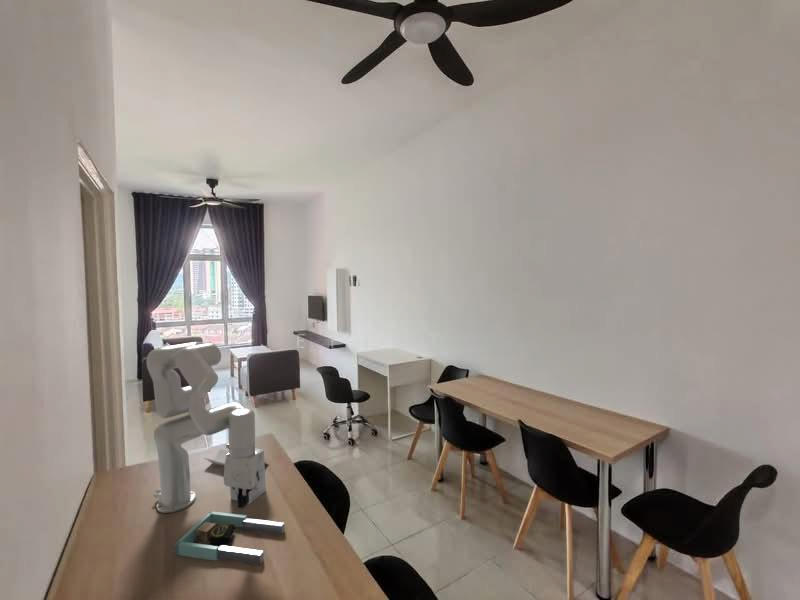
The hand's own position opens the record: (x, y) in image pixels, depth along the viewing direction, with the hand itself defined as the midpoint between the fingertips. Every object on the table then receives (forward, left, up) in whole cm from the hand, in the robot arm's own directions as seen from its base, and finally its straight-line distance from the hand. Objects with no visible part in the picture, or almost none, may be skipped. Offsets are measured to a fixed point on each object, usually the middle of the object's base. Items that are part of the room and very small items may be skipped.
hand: (243, 504), depth 118 cm
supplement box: (-14, +24, -13) cm, 30 cm away
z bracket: (-32, +43, -13) cm, 55 cm away
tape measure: (-7, 0, -13) cm, 15 cm away
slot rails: (+3, 0, -13) cm, 13 cm away
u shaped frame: (-11, 0, -13) cm, 17 cm away
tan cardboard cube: (-14, 0, -13) cm, 19 cm away
